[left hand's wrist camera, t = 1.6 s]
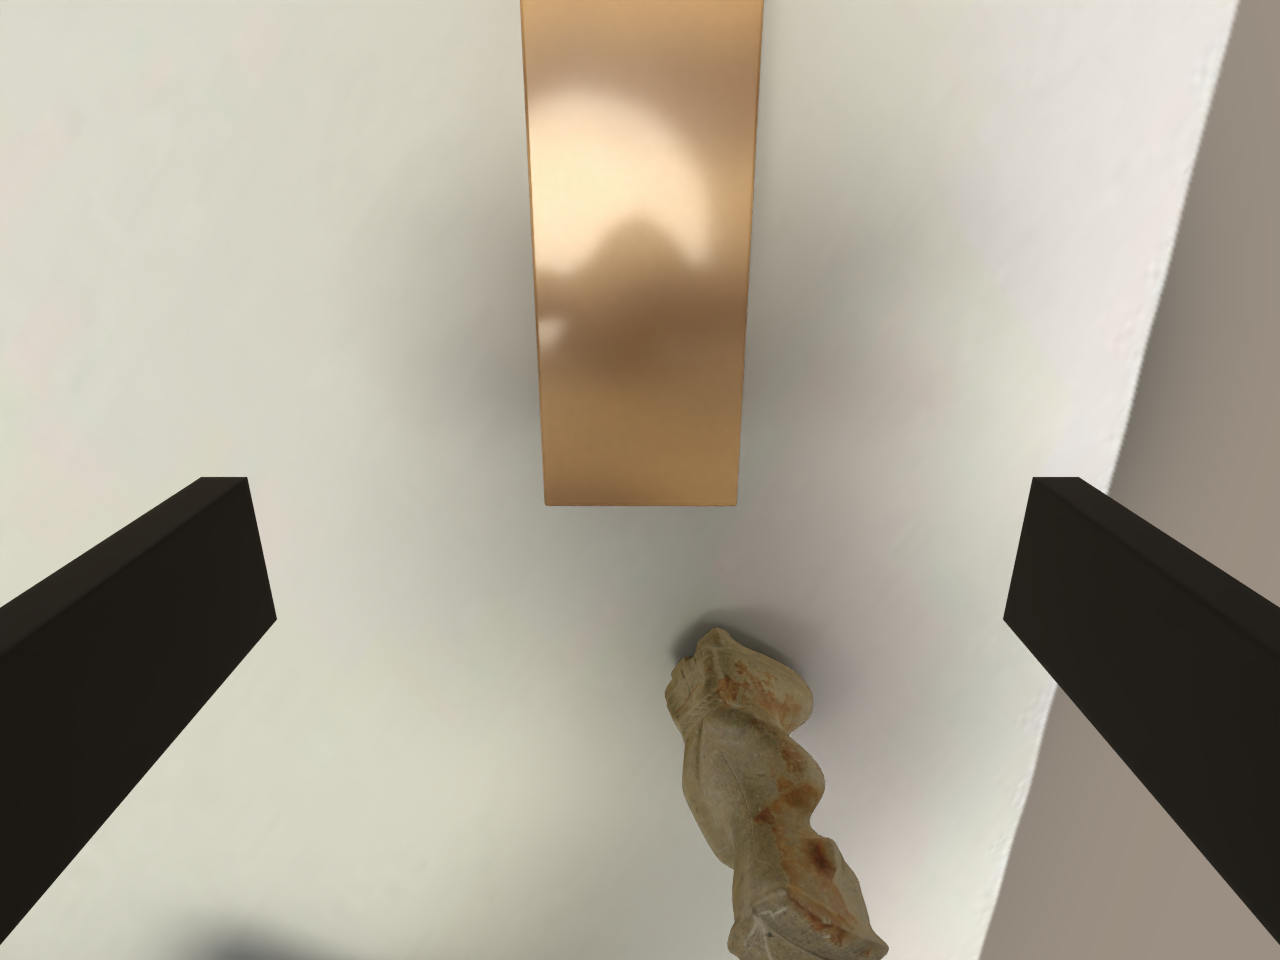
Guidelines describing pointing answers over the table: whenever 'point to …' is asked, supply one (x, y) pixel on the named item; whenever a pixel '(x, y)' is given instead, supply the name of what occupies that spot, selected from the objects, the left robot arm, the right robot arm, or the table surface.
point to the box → (641, 242)
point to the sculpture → (764, 806)
